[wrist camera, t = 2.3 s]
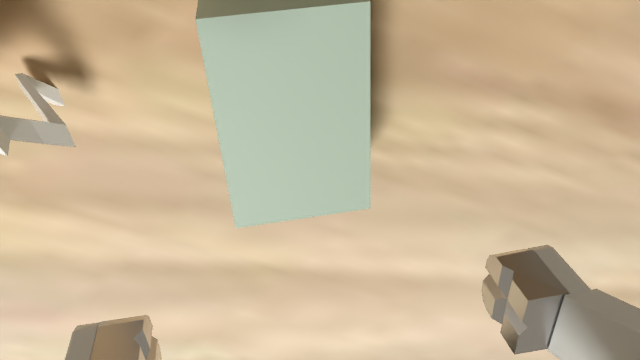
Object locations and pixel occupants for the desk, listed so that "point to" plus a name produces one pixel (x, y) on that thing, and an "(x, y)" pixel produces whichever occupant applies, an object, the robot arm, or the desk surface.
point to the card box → (290, 104)
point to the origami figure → (31, 130)
